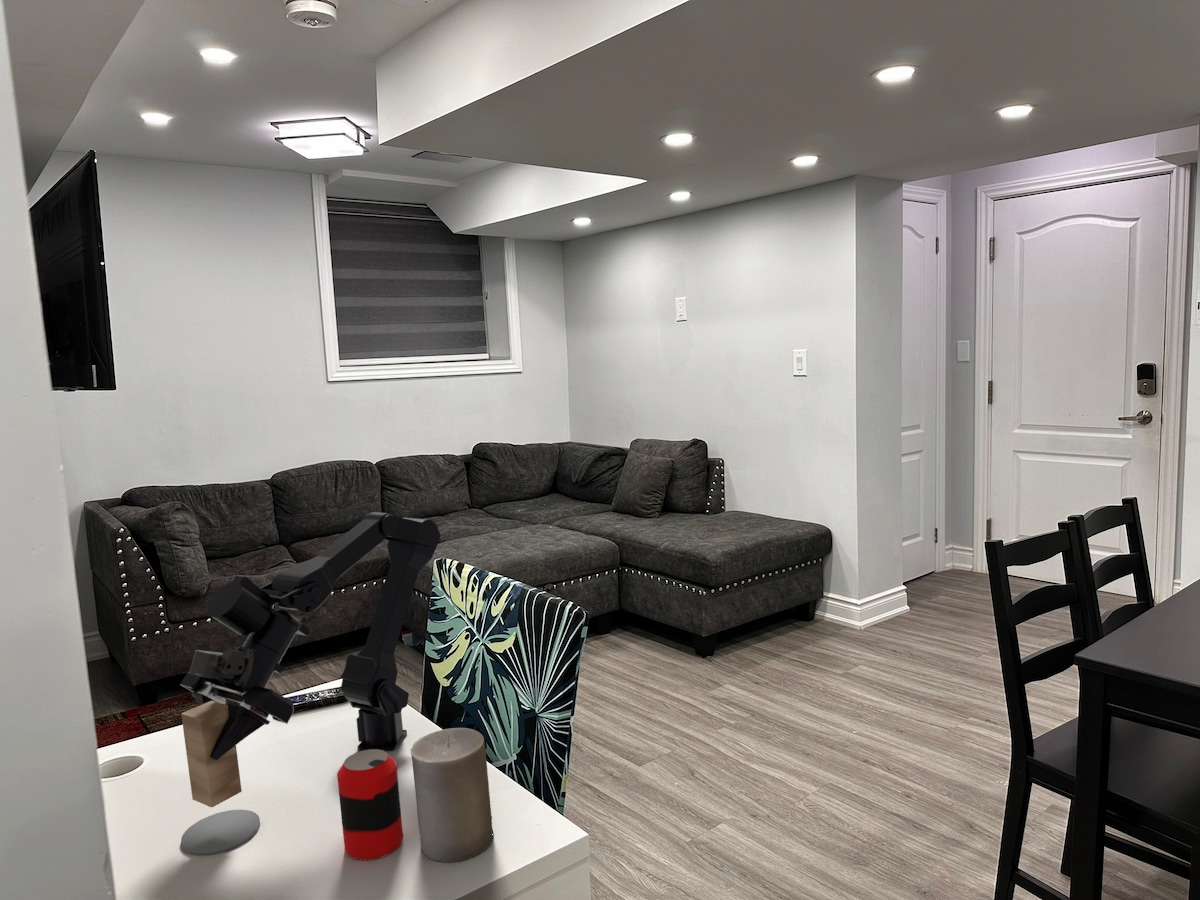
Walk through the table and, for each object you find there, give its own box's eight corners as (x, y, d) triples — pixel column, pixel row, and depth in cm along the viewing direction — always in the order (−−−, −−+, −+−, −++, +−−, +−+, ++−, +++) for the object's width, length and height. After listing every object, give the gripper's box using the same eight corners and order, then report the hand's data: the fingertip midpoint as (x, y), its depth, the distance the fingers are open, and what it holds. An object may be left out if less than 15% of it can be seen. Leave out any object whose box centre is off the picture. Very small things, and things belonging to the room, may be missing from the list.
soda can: (372, 867, 107) (364, 779, 106) (332, 851, 111) (323, 766, 110) (415, 837, 113) (407, 752, 112) (375, 822, 117) (367, 741, 116)
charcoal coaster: (273, 813, 121) (272, 809, 121) (235, 855, 111) (235, 851, 111) (208, 813, 123) (208, 809, 122) (165, 854, 113) (165, 850, 113)
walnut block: (222, 784, 119) (211, 700, 118) (241, 791, 117) (231, 706, 115) (192, 799, 116) (181, 713, 114) (212, 807, 113) (200, 719, 112)
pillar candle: (503, 823, 115) (494, 719, 114) (477, 866, 106) (467, 753, 104) (438, 819, 118) (428, 716, 116) (407, 860, 108) (395, 750, 107)
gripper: (184, 616, 122) (117, 719, 114) (265, 633, 112) (198, 747, 104) (239, 649, 129) (180, 748, 122) (320, 668, 119) (261, 778, 111)
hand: (202, 754), depth 114 cm, fingers closed on walnut block, 4 cm apart
